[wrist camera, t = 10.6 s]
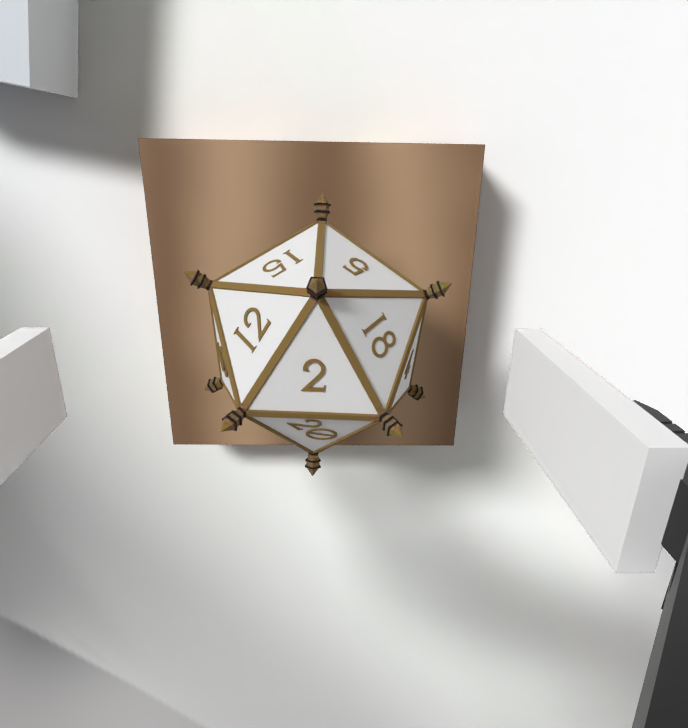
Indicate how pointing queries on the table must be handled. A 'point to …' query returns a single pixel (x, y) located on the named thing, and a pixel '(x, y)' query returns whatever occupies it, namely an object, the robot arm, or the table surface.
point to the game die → (316, 338)
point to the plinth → (289, 215)
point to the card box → (40, 45)
